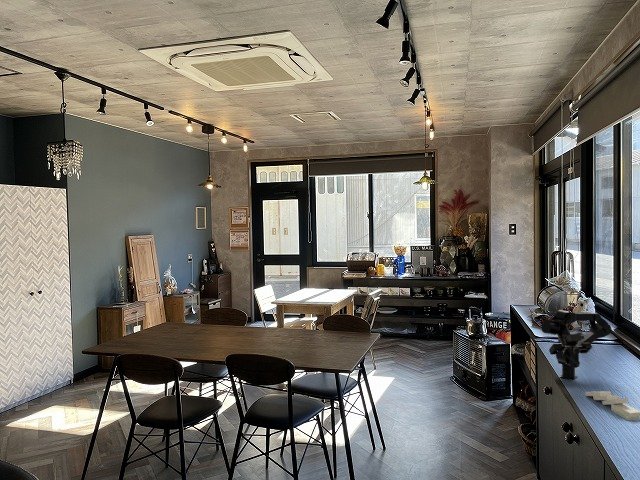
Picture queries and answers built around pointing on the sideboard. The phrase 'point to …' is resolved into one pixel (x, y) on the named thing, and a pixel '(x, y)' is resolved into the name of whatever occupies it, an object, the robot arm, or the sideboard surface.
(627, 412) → the domino
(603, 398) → the domino
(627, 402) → the domino
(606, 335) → the robot arm
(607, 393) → the domino
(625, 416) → the domino
